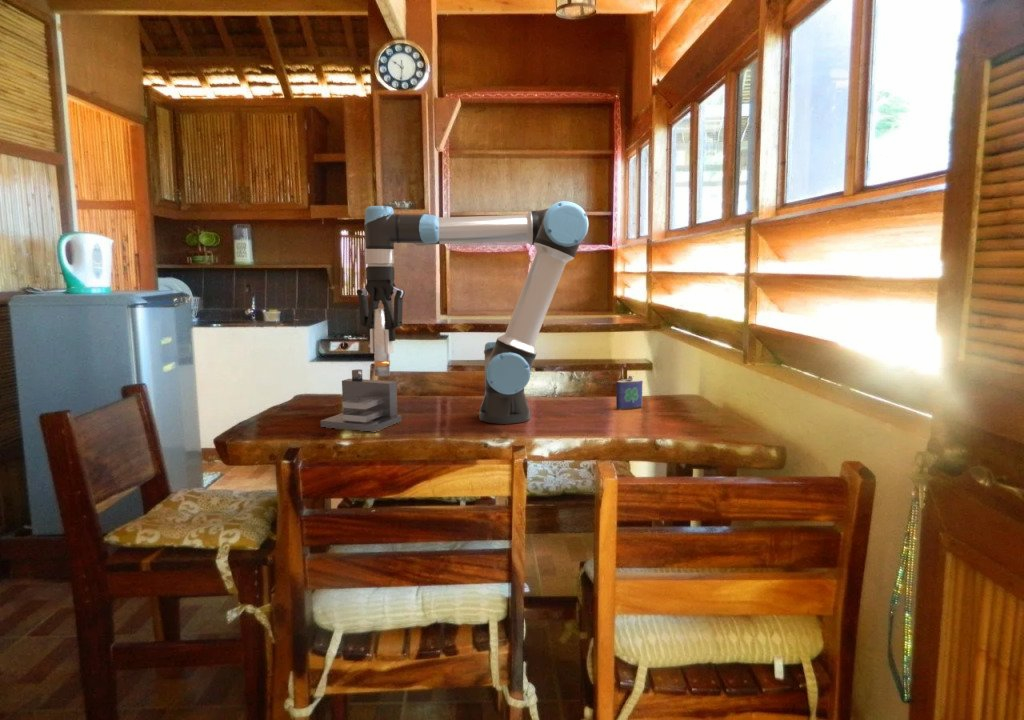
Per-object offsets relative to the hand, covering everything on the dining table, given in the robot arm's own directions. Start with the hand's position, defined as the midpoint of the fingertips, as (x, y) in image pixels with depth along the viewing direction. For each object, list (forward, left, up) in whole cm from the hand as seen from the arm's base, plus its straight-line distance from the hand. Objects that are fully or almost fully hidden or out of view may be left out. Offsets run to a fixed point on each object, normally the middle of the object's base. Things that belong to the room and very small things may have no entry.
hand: (381, 352), depth 185 cm
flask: (-57, -53, -22) cm, 81 cm away
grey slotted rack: (+11, -5, -22) cm, 25 cm away
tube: (0, 0, -6) cm, 6 cm away
